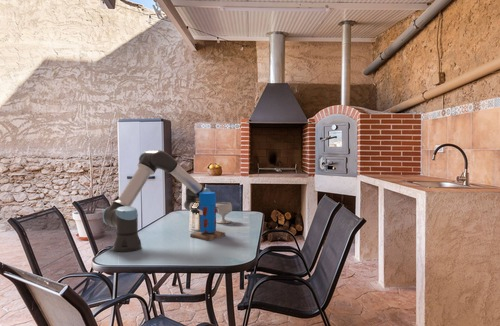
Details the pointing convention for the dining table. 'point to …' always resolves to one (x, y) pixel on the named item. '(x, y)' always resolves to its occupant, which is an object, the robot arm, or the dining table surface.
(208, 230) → the blue tower block
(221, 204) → the chalice
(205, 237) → the walnut board
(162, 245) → the dining table surface
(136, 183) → the robot arm
